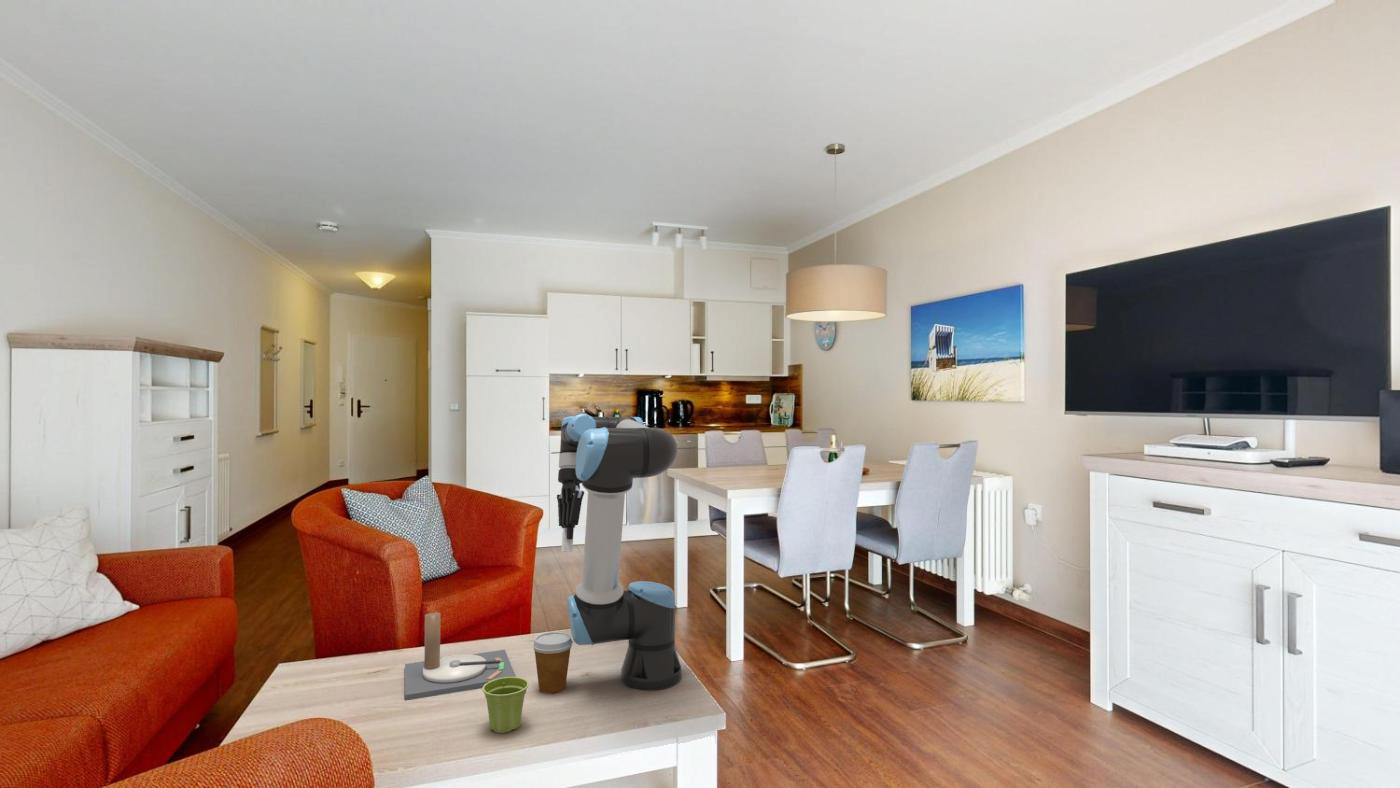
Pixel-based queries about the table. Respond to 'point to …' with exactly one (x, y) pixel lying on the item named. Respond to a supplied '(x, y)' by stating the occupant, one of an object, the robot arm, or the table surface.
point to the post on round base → (447, 658)
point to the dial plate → (423, 688)
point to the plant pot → (505, 702)
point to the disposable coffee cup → (552, 660)
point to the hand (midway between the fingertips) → (566, 551)
